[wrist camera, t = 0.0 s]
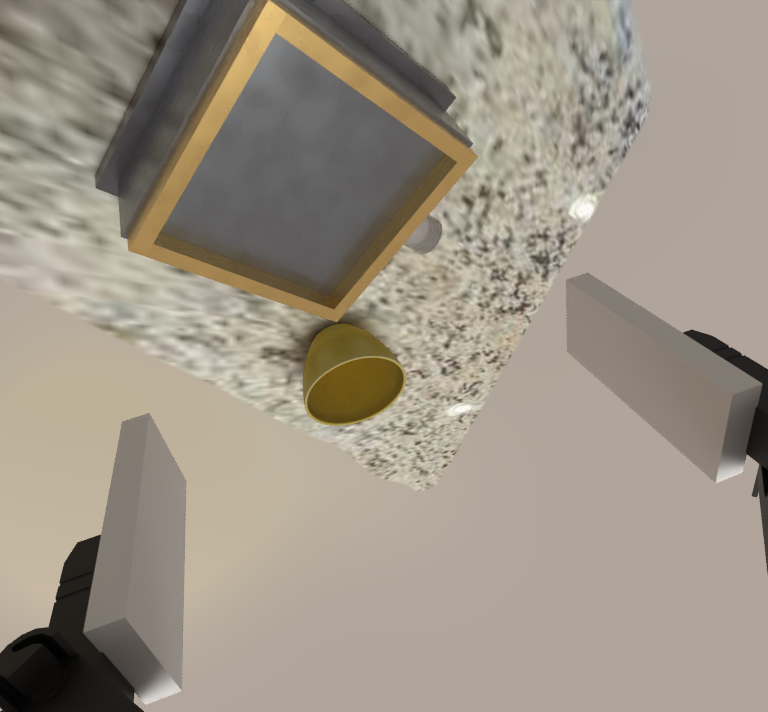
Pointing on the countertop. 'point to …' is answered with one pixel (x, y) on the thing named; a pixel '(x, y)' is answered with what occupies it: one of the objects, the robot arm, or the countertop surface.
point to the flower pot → (349, 376)
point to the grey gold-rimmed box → (283, 151)
